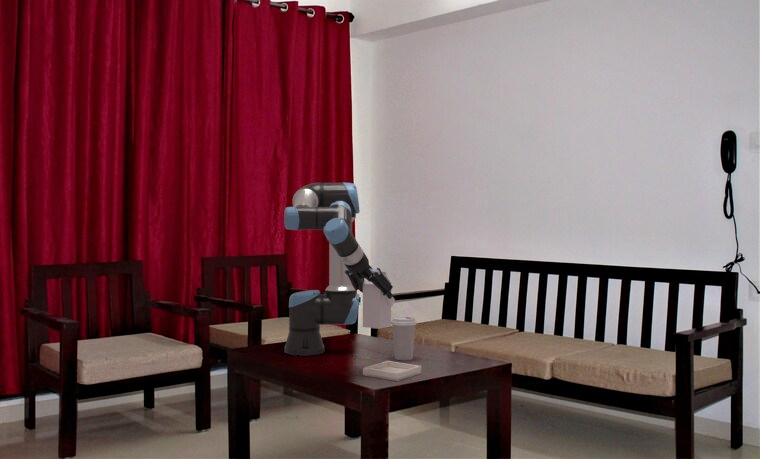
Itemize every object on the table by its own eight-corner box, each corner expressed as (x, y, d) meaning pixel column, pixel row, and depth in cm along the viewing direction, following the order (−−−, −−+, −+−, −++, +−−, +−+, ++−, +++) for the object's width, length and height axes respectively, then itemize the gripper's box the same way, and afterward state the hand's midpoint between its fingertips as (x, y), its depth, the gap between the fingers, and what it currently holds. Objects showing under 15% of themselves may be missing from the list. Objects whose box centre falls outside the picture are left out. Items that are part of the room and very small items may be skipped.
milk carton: (380, 329, 249) (380, 272, 249) (362, 327, 253) (362, 271, 253) (391, 326, 255) (391, 271, 255) (373, 324, 259) (374, 270, 259)
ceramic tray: (362, 375, 246) (362, 367, 246) (387, 367, 257) (387, 360, 257) (397, 381, 238) (397, 373, 238) (421, 373, 249) (421, 365, 249)
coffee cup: (414, 361, 267) (414, 320, 266) (388, 360, 269) (388, 319, 268) (418, 356, 276) (418, 316, 276) (393, 355, 278) (393, 315, 278)
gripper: (325, 265, 247) (355, 308, 261) (373, 267, 235) (402, 313, 248) (335, 248, 252) (364, 292, 265) (383, 250, 239) (411, 296, 253)
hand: (382, 302), depth 257 cm, fingers closed on milk carton, 7 cm apart
